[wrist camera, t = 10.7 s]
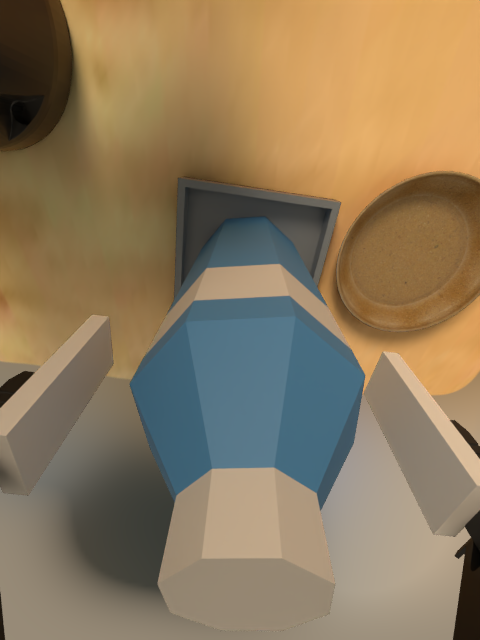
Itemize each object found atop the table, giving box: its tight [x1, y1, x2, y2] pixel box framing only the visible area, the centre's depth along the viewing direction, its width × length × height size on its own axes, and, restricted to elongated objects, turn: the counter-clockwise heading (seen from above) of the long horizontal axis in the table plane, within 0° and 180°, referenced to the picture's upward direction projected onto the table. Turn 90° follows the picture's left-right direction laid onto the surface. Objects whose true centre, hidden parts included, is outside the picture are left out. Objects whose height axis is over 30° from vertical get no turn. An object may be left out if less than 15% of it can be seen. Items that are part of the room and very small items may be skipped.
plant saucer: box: [336, 171, 480, 332], centre depth 28 cm, size 15×15×3 cm
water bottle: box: [130, 216, 365, 631], centre depth 18 cm, size 9×9×25 cm
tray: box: [174, 177, 341, 300], centre depth 28 cm, size 14×14×2 cm
